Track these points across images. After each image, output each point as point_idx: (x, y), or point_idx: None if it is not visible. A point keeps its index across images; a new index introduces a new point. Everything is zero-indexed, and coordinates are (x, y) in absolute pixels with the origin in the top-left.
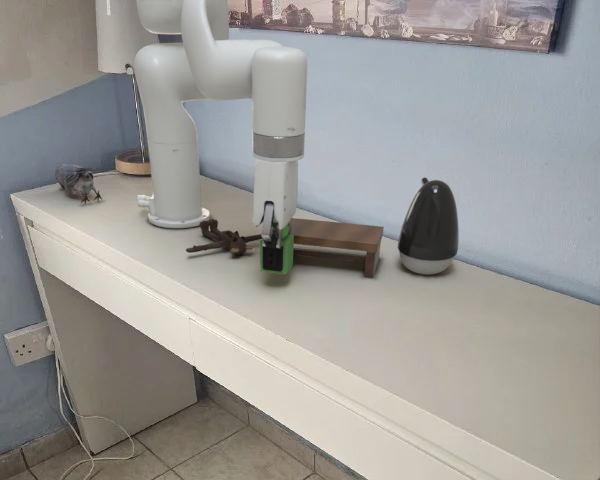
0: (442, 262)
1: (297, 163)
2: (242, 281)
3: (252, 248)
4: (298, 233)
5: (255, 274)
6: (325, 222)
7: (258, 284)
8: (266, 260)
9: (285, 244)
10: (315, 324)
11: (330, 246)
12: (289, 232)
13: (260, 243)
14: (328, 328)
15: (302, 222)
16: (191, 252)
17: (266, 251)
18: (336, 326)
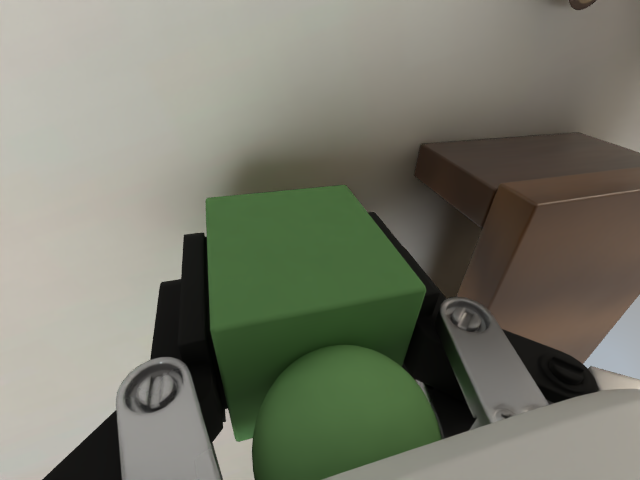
0: None
1: None
2: (233, 50)
3: (575, 5)
4: (512, 307)
5: (335, 91)
6: (604, 327)
7: (229, 144)
8: (158, 302)
9: (235, 437)
10: (5, 411)
11: None
12: (417, 382)
13: (210, 319)
14: (8, 437)
15: (635, 267)
16: None
17: (153, 350)
18: (39, 441)
